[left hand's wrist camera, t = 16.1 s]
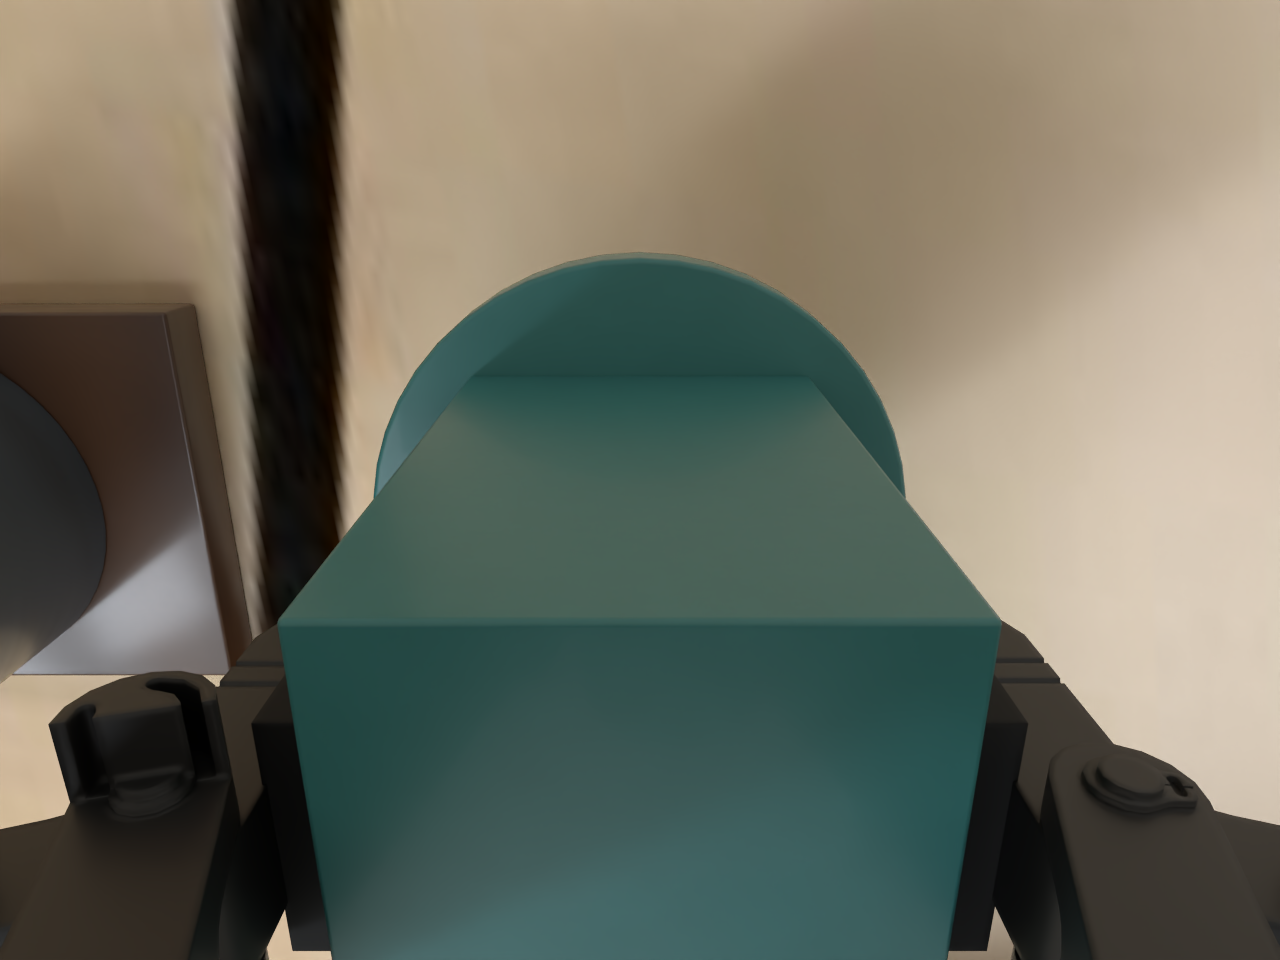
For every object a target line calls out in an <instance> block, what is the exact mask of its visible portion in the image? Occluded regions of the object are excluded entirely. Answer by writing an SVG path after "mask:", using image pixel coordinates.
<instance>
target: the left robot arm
mask: <svg viewBox="0 0 1280 960" xmlns="http://www.w3.org/2000/svg"><path fill="white" fill-rule="evenodd" d="M1001 623H1002V627H1001V633H1000V639H999V645H998V651H997V657H996V663H995V670H994V676H993V682H992V688H991V694H990V700H989V706H988V713H987V719H986V725H985V731H984V737H983V743H982V749H981V756H980V762H979V768H978V774H977V780H976V786H975V792H974V798H973V805H972V811H971V817H970V823H969V829H968V835H967V841H966V848H965V854H964V860H963V866H962V872H961V878H960V884H959V891H958V897H957V903H956V909H955V915H954V921H953V927H952V933H951V940H950V946H949V951H987V947H988V941H989V936H990V930H991V925H992V919H993V914H994V909H995V907H996V909H997V911H998V913H999V915H1000V917H1001V919H1002V921H1003V924H1004V926H1005V928H1006V930H1007V932H1008V934H1009V936H1010V938H1011V940H1012V942H1013V945H1014V947H1013V952H1012V957H1011V960H1280V825H1275V824H1270V823H1266V822H1261V821H1256V820H1251V819H1246V818H1242V817H1237V816H1232V815H1229V814H1225V813H1221V812H1217V811H1214V809H1213V807H1212V805H1211V803H1210V801H1209V800H1208V798H1207V797H1206V796H1205V795H1204V793H1203V792H1202V791H1201V789H1200V788H1199V787H1198V786H1197V784H1196V783H1195V782H1194V781H1193V780H1191V779H1190V778H1188V777H1187V776H1186V775H1184V774H1183V773H1182V772H1180V771H1179V770H1177V769H1176V768H1175V767H1173V766H1172V765H1170V764H1168V763H1166V762H1164V761H1162V760H1159V759H1157V758H1155V757H1153V756H1151V755H1148V754H1146V753H1144V752H1142V751H1138V750H1134V749H1130V748H1126V747H1122V746H1119V745H1115V744H1113V743H1112V741H1111V740H1110V739H1109V738H1108V737H1107V735H1106V734H1105V733H1104V732H1103V730H1102V729H1101V728H1100V727H1099V725H1098V724H1097V723H1096V722H1095V721H1094V719H1093V718H1092V717H1091V716H1090V714H1089V713H1088V712H1087V711H1086V710H1085V708H1084V707H1083V706H1082V705H1081V703H1080V702H1079V701H1078V700H1077V699H1076V697H1075V696H1074V695H1073V694H1072V692H1071V691H1070V690H1069V689H1068V687H1067V686H1066V685H1065V684H1061V683H1060V678H1059V676H1058V675H1057V674H1056V673H1055V672H1054V670H1053V669H1052V668H1051V667H1050V665H1049V664H1048V663H1044V658H1043V657H1042V656H1041V654H1040V653H1039V652H1038V651H1037V649H1036V648H1035V647H1034V646H1033V645H1032V643H1031V642H1030V641H1029V640H1028V638H1027V637H1026V636H1025V635H1024V634H1023V633H1021V632H1019V631H1018V630H1016V629H1015V628H1013V627H1011V626H1010V625H1008V624H1007V623H1005V622H1003V621H1002V620H1001ZM48 725H49V728H50V732H51V736H52V739H53V743H54V746H55V750H56V754H57V757H58V761H59V764H60V768H61V771H62V775H63V779H64V782H65V786H66V789H67V793H68V796H69V800H70V804H69V806H68V808H67V811H66V813H65V815H62V816H58V817H55V818H51V819H47V820H43V821H38V822H33V823H28V824H24V825H19V826H14V827H9V828H5V829H0V960H269V957H268V952H267V946H268V944H269V942H270V939H271V937H272V935H273V933H274V931H275V929H276V927H277V925H278V923H279V921H280V918H281V916H282V914H283V912H284V910H285V912H286V917H287V923H288V928H289V934H290V939H291V945H292V950H293V951H331V950H330V943H329V937H328V931H327V925H326V919H325V913H324V907H323V901H322V895H321V889H320V882H319V876H318V870H317V864H316V858H315V852H314V846H313V840H312V834H311V827H310V821H309V815H308V809H307V803H306V797H305V791H304V785H303V779H302V773H301V766H300V760H299V754H298V748H297V742H296V736H295V730H294V724H293V718H292V711H291V705H290V699H289V693H288V687H287V681H286V675H285V669H284V663H283V657H282V650H281V644H280V638H279V632H278V625H277V624H276V625H275V626H273V627H272V628H270V629H268V630H267V631H265V632H264V633H262V634H260V635H259V636H257V637H256V638H255V639H254V640H253V641H252V642H251V644H250V645H249V646H248V647H247V649H246V650H245V651H244V652H243V654H242V655H241V656H240V657H239V659H238V660H237V661H236V666H232V667H231V668H230V670H229V671H228V672H227V673H226V675H225V676H224V677H223V678H222V680H221V681H220V686H219V687H215V685H214V684H213V683H211V682H210V681H209V680H208V679H206V678H205V677H204V676H203V675H199V674H194V673H189V672H185V671H160V672H149V673H144V674H140V675H136V676H131V677H127V678H122V679H119V680H116V681H114V682H111V683H109V684H106V685H104V686H101V687H99V688H96V689H94V690H91V691H89V692H88V693H86V694H84V695H83V696H81V697H80V698H78V699H76V700H75V701H73V702H72V703H70V704H68V705H67V706H65V707H64V708H63V709H62V710H61V711H60V712H59V714H58V715H57V716H56V717H55V718H54V719H53V720H52V721H51V722H50V723H49V724H48Z"/></svg>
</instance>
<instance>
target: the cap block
mask: <svg viewBox="0 0 1280 960" xmlns="http://www.w3.org/2000/svg"><path fill="white" fill-rule="evenodd" d="M277 625H278V632H279V638H280V644H281V650H282V657H283V663H284V669H285V675H286V681H287V687H288V693H289V699H290V705H291V711H292V718H293V724H294V730H295V736H296V742H297V748H298V754H299V760H300V766H301V773H302V779H303V785H304V791H305V797H306V803H307V809H308V815H309V821H310V827H311V834H312V840H313V846H314V852H315V858H316V864H317V870H318V876H319V882H320V889H321V895H322V901H323V907H324V913H325V919H326V925H327V931H328V937H329V943H330V950H331V956H332V960H947V958H948V952H949V946H950V940H951V933H952V927H953V921H954V915H955V909H956V903H957V897H958V891H959V884H960V878H961V872H962V866H963V860H964V854H965V848H966V841H967V835H968V829H969V823H970V817H971V811H972V805H973V798H974V792H975V786H976V780H977V774H978V768H979V762H980V756H981V749H982V743H983V737H984V731H985V725H986V719H987V713H988V706H989V700H990V694H991V688H992V682H993V676H994V670H995V663H996V657H997V651H998V645H999V639H1000V633H1001V627H1002V623H1001V620H1000V618H999V616H998V615H997V614H996V613H995V611H994V610H993V609H992V608H991V606H990V605H989V604H988V603H987V601H986V600H985V599H984V598H983V596H982V595H981V594H980V592H979V591H978V590H977V589H976V587H975V586H974V585H973V584H972V582H971V581H970V580H969V579H968V577H967V576H966V575H965V574H964V572H963V571H962V570H961V568H960V567H959V566H958V565H957V563H956V562H955V561H954V560H953V558H952V557H951V556H950V555H949V553H948V552H947V551H946V550H945V548H944V547H943V546H942V544H941V543H940V542H939V541H938V539H937V538H936V537H935V536H934V534H933V533H932V532H931V531H930V529H929V528H928V527H927V526H926V524H925V523H924V522H923V521H922V519H921V518H920V517H919V515H918V514H917V513H916V512H915V510H914V509H913V508H912V507H911V505H910V504H909V503H908V502H907V500H906V496H905V486H904V476H903V466H902V461H901V457H900V453H899V449H898V445H897V441H896V437H895V433H894V430H893V428H892V425H891V423H890V420H889V418H888V415H887V413H886V411H885V408H884V406H883V403H882V401H881V399H880V397H879V396H878V394H877V392H876V391H875V389H874V387H873V386H872V384H871V382H870V380H869V379H868V377H867V375H866V374H865V372H864V370H863V369H862V368H861V367H860V365H859V364H858V363H857V362H856V360H855V359H854V358H853V357H852V356H851V354H850V353H849V352H848V351H847V349H846V348H845V347H844V346H843V344H842V343H841V342H840V341H839V340H838V339H837V338H836V337H834V336H833V335H832V334H831V333H830V332H829V331H828V330H827V329H826V328H825V327H824V326H823V325H822V324H821V323H819V322H818V321H817V320H816V319H815V318H814V317H813V316H812V315H811V314H810V313H808V312H807V311H806V310H805V309H803V308H802V307H801V306H799V305H798V304H796V303H795V302H793V301H792V300H791V299H789V298H788V297H786V296H785V295H783V294H782V293H781V292H779V291H778V290H776V289H774V288H772V287H770V286H768V285H766V284H764V283H762V282H760V281H758V280H756V279H755V278H753V277H751V276H749V275H747V274H744V273H742V272H739V271H736V270H733V269H730V268H727V267H724V266H722V265H719V264H716V263H713V262H709V261H704V260H699V259H695V258H690V257H685V256H680V255H673V254H658V253H643V252H636V253H621V254H607V255H599V256H595V257H590V258H585V259H580V260H575V261H570V262H566V263H563V264H561V265H558V266H555V267H552V268H549V269H546V270H543V271H541V272H538V273H535V274H533V275H531V276H529V277H527V278H525V279H523V280H521V281H519V282H517V283H515V284H513V285H511V286H509V287H507V288H505V289H503V290H502V291H500V292H499V293H497V294H496V295H494V296H493V297H492V298H490V299H489V300H487V301H486V302H484V303H483V304H482V305H480V306H479V307H477V308H476V309H475V310H473V311H472V312H471V313H470V314H469V315H467V316H466V317H465V318H464V319H463V320H462V321H461V322H460V323H459V324H458V325H457V326H456V327H454V328H453V329H452V330H451V331H450V332H449V333H448V334H447V335H446V336H445V337H444V338H443V339H442V340H441V341H440V342H438V343H437V345H436V346H435V347H434V348H433V350H432V351H431V352H430V353H429V355H428V356H427V357H426V358H425V360H424V361H423V362H422V363H421V365H420V366H419V367H418V368H417V370H416V371H415V372H414V374H413V376H412V378H411V379H410V381H409V383H408V384H407V386H406V388H405V389H404V391H403V393H402V395H401V396H400V398H399V400H398V401H397V404H396V406H395V409H394V411H393V414H392V416H391V419H390V421H389V424H388V426H387V428H386V431H385V434H384V438H383V442H382V446H381V450H380V454H379V458H378V462H377V468H376V478H375V489H374V499H373V501H372V502H371V503H370V505H369V506H368V507H367V508H366V510H365V511H364V512H363V513H362V515H361V516H360V517H359V518H358V520H357V521H356V522H355V523H354V525H353V526H352V527H351V529H350V530H349V531H348V532H347V534H346V535H345V536H344V537H343V539H342V540H341V541H340V542H339V544H338V545H337V546H336V547H335V549H334V550H333V551H332V553H331V554H330V555H329V556H328V558H327V559H326V560H325V561H324V563H323V564H322V565H321V566H320V568H319V569H318V570H317V571H316V573H315V574H314V575H313V576H312V578H311V579H310V580H309V582H308V583H307V584H306V585H305V587H304V588H303V589H302V590H301V592H300V593H299V594H298V595H297V597H296V598H295V599H294V600H293V602H292V603H291V604H290V606H289V607H288V608H287V609H286V611H285V612H284V613H283V614H282V616H281V617H280V618H279V620H278V624H277Z"/></svg>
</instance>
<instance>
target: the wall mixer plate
mask: <svg viewBox="0 0 1280 960" xmlns="http://www.w3.org/2000/svg"><path fill="white" fill-rule="evenodd" d="M251 642H252V638H251V633H250V627H249V621H248V615H247V609H246V604H245V598H244V592H243V586H242V580H241V575H240V569H239V563H238V557H237V551H236V545H235V540H234V534H233V528H232V522H231V516H230V511H229V505H228V499H227V493H226V487H225V482H224V476H223V470H222V464H221V458H220V453H219V447H218V441H217V435H216V429H215V424H214V418H213V412H212V406H211V400H210V395H209V389H208V383H207V377H206V371H205V366H204V360H203V354H202V348H201V342H200V336H199V331H198V325H197V319H196V313H195V307H194V305H192V304H0V684H1V683H2V682H3V681H4V680H5V679H7V678H8V677H9V676H10V675H140V674H144V673H149V672H160V671H185V672H189V673H194V674H199V675H226V673H227V672H228V671H229V670H230V668H231V667H232V666H236V661H237V660H238V659H239V657H240V656H241V655H242V654H243V652H244V651H245V650H246V649H247V647H248V646H249V645H250V644H251Z"/></svg>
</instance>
